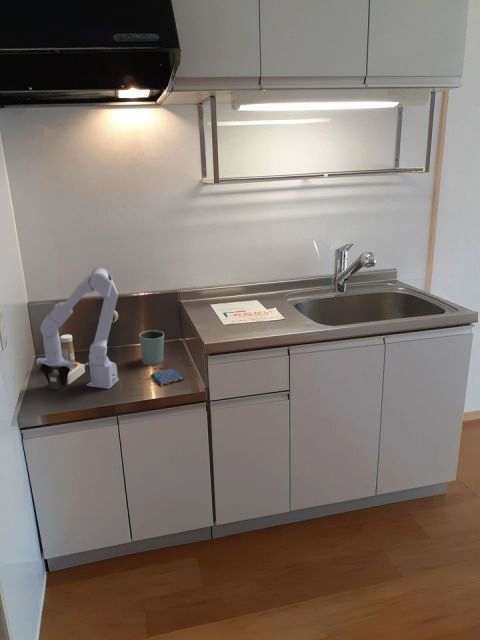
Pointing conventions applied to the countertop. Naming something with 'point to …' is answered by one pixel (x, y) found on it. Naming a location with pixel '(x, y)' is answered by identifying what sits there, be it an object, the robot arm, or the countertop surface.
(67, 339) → the sprinkles bottle
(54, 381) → the charger
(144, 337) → the teal cup
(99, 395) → the countertop surface
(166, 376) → the woven mat
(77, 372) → the power strip
